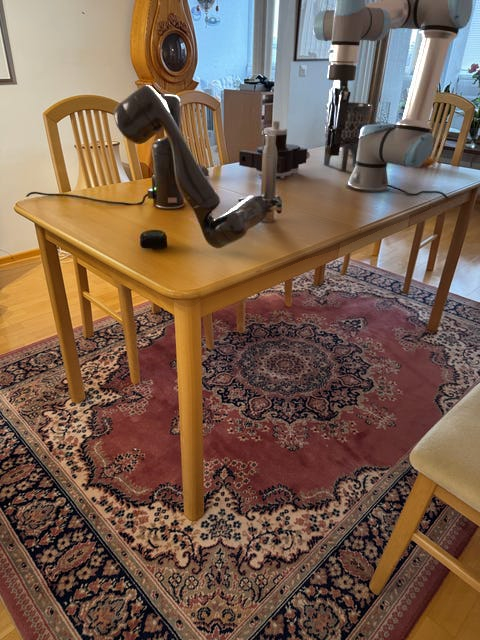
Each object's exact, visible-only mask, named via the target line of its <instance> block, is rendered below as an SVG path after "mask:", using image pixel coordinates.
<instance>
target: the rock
mask: <svg viewBox="0 0 480 640" xmlns="http://www.w3.org/2000/svg"><path fill="white" fill-rule="evenodd" d="M197 164H198V165H199V167H200V169H201V170H202V172H203V174H204V175H205V177H206V178H207V177H210V173H209V172H210V171H209V169H208V168H207V167H206V166H205V165H202V164H200V163H197Z"/></svg>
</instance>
